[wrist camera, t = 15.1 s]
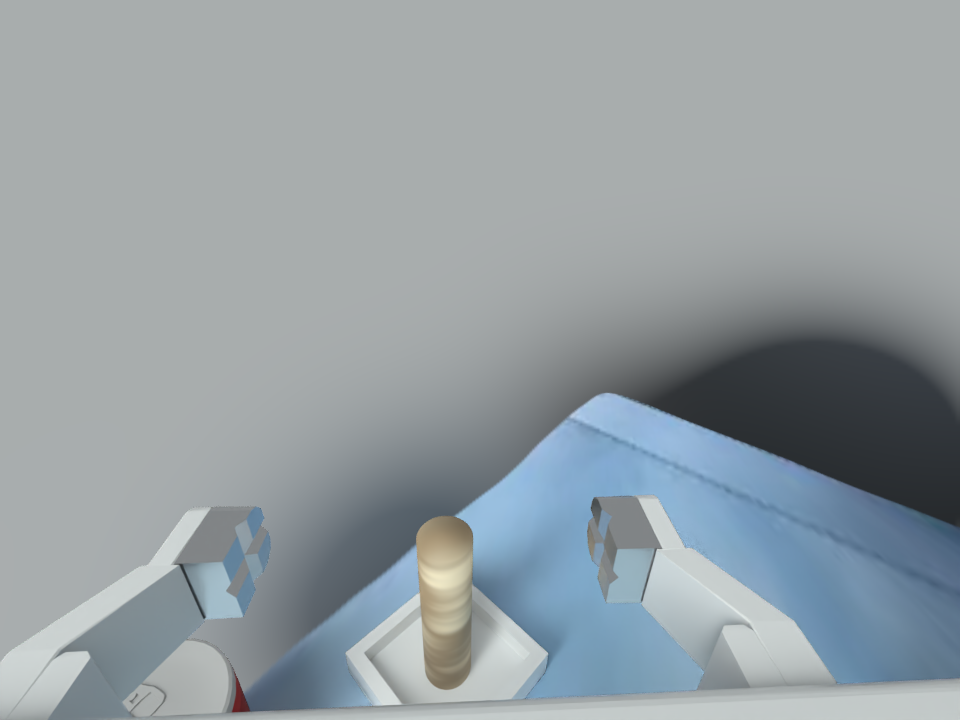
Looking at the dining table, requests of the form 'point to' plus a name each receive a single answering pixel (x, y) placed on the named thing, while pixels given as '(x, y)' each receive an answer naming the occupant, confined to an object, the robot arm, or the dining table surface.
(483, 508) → the dining table surface
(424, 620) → the dowel
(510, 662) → the tray
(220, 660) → the canned food
